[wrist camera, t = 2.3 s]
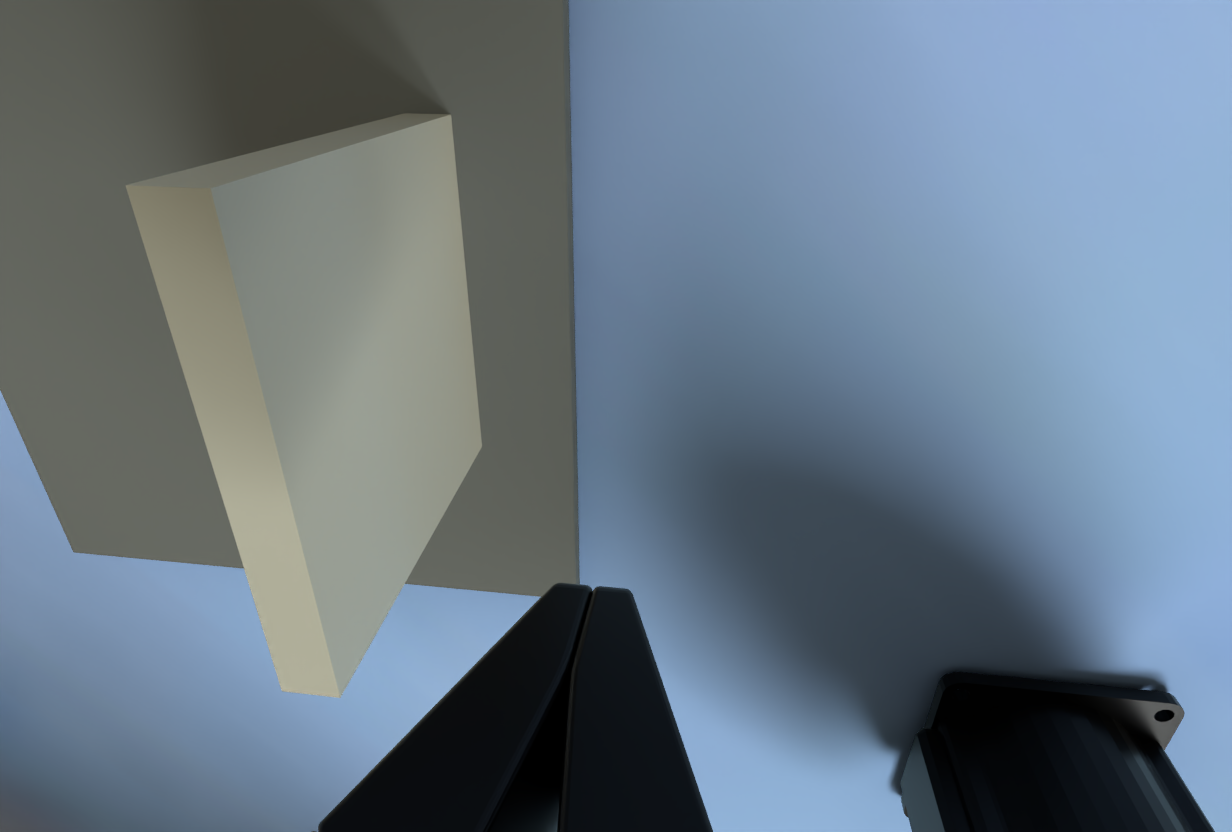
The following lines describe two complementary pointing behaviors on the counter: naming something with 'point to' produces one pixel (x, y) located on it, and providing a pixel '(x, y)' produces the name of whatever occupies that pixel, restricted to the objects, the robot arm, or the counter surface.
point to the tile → (324, 367)
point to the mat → (245, 123)
